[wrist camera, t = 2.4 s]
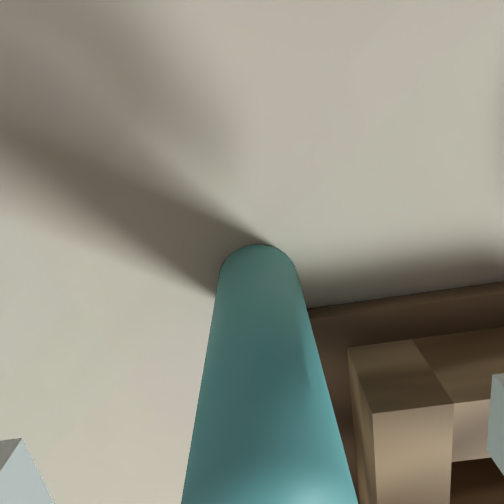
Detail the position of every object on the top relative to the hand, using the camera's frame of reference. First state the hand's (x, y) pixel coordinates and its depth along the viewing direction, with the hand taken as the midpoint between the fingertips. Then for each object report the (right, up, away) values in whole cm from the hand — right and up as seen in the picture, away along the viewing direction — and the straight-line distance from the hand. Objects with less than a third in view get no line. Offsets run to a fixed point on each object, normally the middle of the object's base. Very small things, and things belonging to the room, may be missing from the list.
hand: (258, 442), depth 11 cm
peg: (0, +4, +9) cm, 10 cm away
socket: (+12, -4, +12) cm, 17 cm away
